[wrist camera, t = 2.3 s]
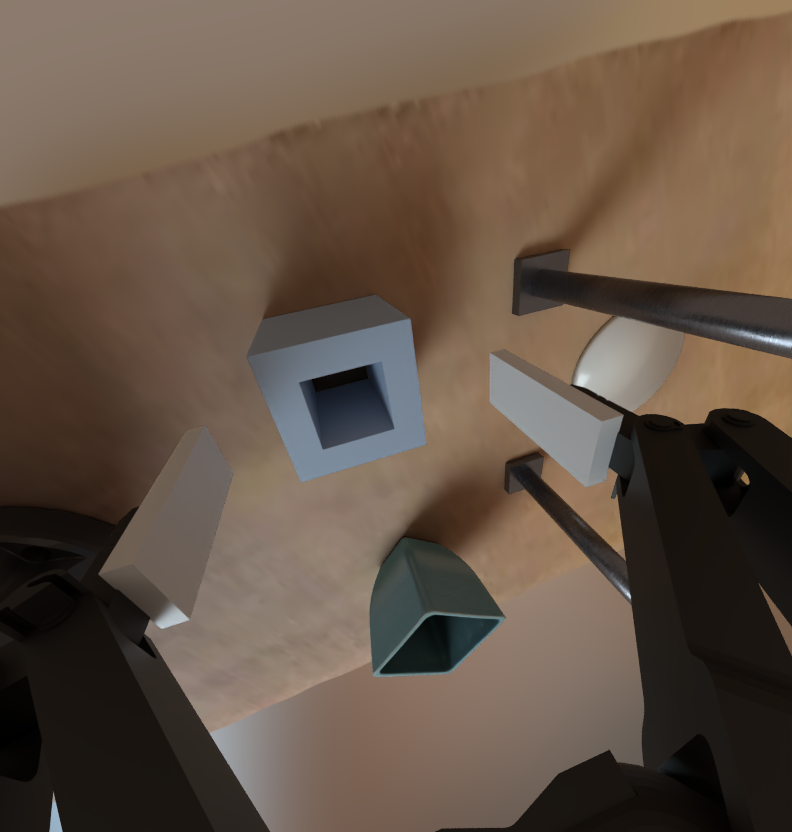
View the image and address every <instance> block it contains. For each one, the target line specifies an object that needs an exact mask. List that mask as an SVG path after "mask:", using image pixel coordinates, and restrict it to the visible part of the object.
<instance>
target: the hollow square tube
mask: <svg viewBox="0 0 792 832" xmlns="http://www.w3.org/2000/svg"><path fill="white" fill-rule="evenodd" d="M247 359H248V362H249V364H250V366H251V369H252V371H253V373H254V375H255V378H256V380H257V382H258V385H259V387H260V389H261V392H262V394H263V396H264V398H265V401H266V403H267V405H268V408H269V410H270V412H271V415H272V417H273V419H274V421H275V424H276V426H277V428H278V431H279V433H280V435H281V438H282V440H283V442H284V444H285V447H286V449H287V451H288V454H289V456H290V458H291V461H292V463H293V465H294V467H295V470H296V472H297V474H298V477H299V479H300V481H301V482H304V481H308V480H311V479H314V478H318V477H321V476H324V475H327V474H331V473H334V472H337V471H341V470H344V469H347V468H351V467H354V466H357V465H360V464H364V463H367V462H370V461H374V460H377V459H380V458H384V457H387V456H390V455H394V454H397V453H400V452H403V451H407V450H410V449H413V448H417V447H420V446H423V445H427V444H426V436H425V428H424V420H423V413H422V405H421V397H420V389H419V381H418V374H417V366H416V358H415V350H414V342H413V335H412V327H411V319H410V318H409V317H408V316H406V315H405V314H403V313H402V312H401V311H399V310H398V309H396V308H395V307H393V306H392V305H390V304H389V303H388V302H386V301H385V300H383V299H382V298H380V297H379V296H378V295H371V296H366V297H362V298H357V299H353V300H348V301H343V302H339V303H334V304H330V305H325V306H321V307H316V308H311V309H307V310H302V311H298V312H293V313H289V314H284V315H279V316H275V317H270V318H266V319H262V321H261V324H260V326H259V328H258V331H257V333H256V335H255V338H254V340H253V343H252V345H251V347H250V350H249V352H248V354H247ZM365 365H366V369H367V374H368V379H364V380H361V381H357V382H353V383H349V384H345V385H341V386H338V387H334V388H330V389H326V390H322V391H318V392H315V389H314V386H313V383H312V380H311V379H314V378H318V377H322V376H326V375H330V374H334V373H338V372H342V371H346V370H349V369H353V368H357V367H361V366H365Z"/></svg>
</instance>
